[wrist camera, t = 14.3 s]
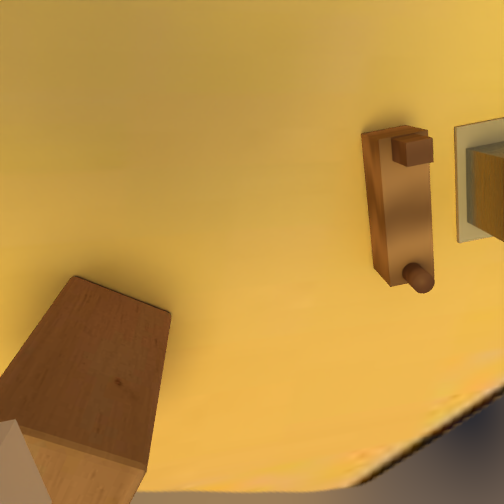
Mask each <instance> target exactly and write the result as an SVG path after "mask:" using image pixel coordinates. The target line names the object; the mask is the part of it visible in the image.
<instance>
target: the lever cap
mask: <svg viewBox="0 0 504 504" xmlns="http://www.w3.org/2000/svg"><path fill="white" fill-rule="evenodd" d="M466 201H467V222H468V223H470V224H472V225H473V226H475V227H477V228H479V229H481V230H483V231H485V232H486V233H488V234H490V235H492V236H494V237H496V238H498V239H499V240H501V241H503V242H504V141H502V142H496V143H491V144H486V145H481V146H476V147H471V148H466Z"/></svg>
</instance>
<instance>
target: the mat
mask: <svg viewBox="0 0 504 504" xmlns="http://www.w3.org/2000/svg"><path fill="white" fill-rule="evenodd" d="M454 139H455V178H456V217H457V242H458V243H462V242H467V241H472V240H477V239H482V238H487V237H492V235H490V234H488V233H486V232H485V231H483V230H481V229H479V228H477V227H475V226H473V225H472V224H470V223H468V222H467V201H466V148H471V147H476V146H481V145H486V144H491V143H496V142H502V141H504V118H499V119H494V120H489V121H484V122H479V123H474V124H469V125H463V126H458V127H454Z"/></svg>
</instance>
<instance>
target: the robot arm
mask: <svg viewBox="0 0 504 504" xmlns="http://www.w3.org/2000/svg"><path fill="white" fill-rule="evenodd" d="M51 503H52V501H51V498H50V496H49V494H48V492H47V489H46V487H45V485H44V482H43V480H42V478H41V476H40V473H39V471H38V469H37V467H36V464H35V462H34V460H33V457H32V455H31V453H30V451H29V448H28V446H27V444H26V442H25V439H24V437H23V435H22V432H21V430H20V428H19V426H18V423H17V421H16V419H14V420H9V421H4V422H0V504H51Z"/></svg>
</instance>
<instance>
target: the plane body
mask: <svg viewBox="0 0 504 504" xmlns="http://www.w3.org/2000/svg"><path fill="white" fill-rule="evenodd" d="M361 137H362V147H363V158H364V169H365V179H366V190H367V201H368V211H369V222H370V233H371V243H372V254H373V264H374V269H375V270H376V271H377V272H378V273H379V274H380V275H381V277H382V278H383V279H384V280H385V281H386V282H387V283H388V284H389V286H390V287H392V286H397V285H402V284H407V283H409V284H410V285H411V286H412V287H413V288H414V289H415V290H416V291H417V292H418V293H427V292H429V291H430V290H431V289H432V288H433V286H434V283H435V280H434V258H433V235H432V213H431V191H430V169H429V163H431V162H433V139H432V138H431V137H428V130H425V129H421V128H416V127H411V126H407V125H404V126H399V127H394V128H389V129H383V130H378V131H373V132H368V133H363V134H361Z"/></svg>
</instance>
